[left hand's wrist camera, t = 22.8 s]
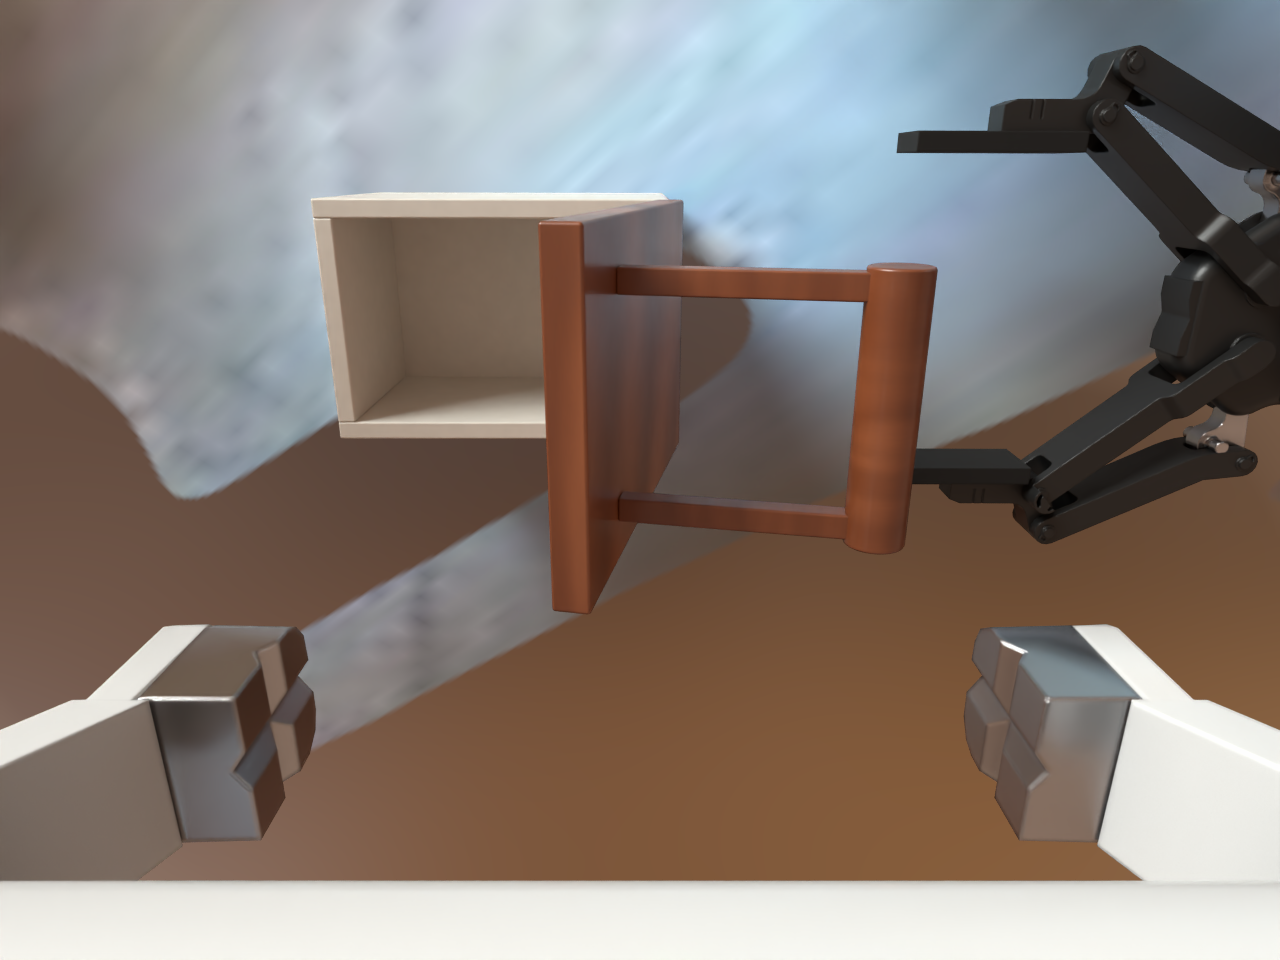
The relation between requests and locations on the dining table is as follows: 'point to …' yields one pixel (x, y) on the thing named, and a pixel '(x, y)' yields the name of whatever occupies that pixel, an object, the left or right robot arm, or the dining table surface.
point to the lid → (650, 390)
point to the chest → (439, 309)
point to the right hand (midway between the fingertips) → (887, 314)
